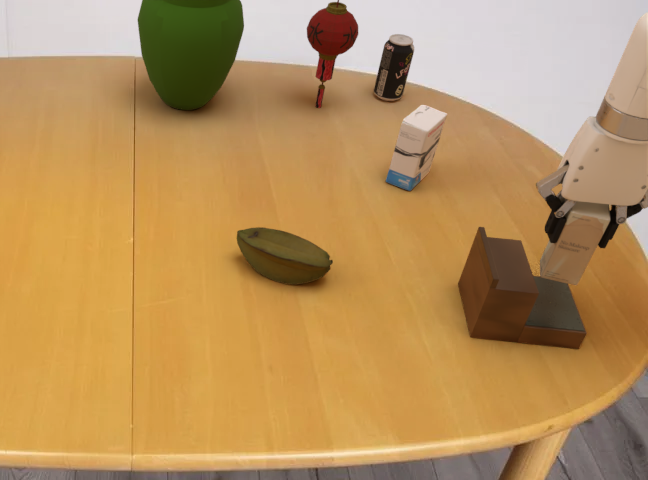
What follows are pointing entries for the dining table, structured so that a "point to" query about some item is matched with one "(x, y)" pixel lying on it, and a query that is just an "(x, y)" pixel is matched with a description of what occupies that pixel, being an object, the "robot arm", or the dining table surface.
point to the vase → (189, 47)
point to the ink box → (416, 147)
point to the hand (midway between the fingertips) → (575, 238)
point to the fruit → (283, 255)
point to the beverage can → (394, 67)
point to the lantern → (330, 39)
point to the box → (575, 243)
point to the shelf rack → (515, 298)
